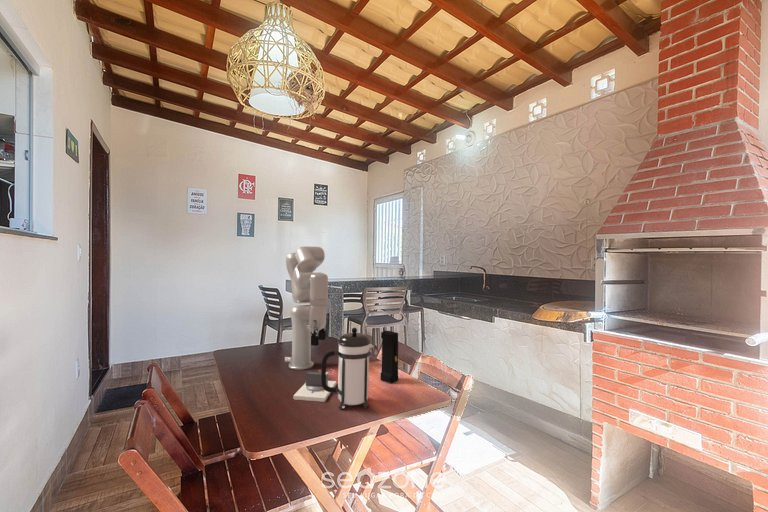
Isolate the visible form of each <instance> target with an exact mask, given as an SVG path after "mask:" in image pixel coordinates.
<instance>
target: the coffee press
mask: <svg viewBox="0 0 768 512" xmlns="http://www.w3.org/2000/svg"><path fill="white" fill-rule="evenodd" d="M337 344H338V349H337V350H331V351H327V352H326V353H325V354H324V355H323V357H322V360H321V383H322V387H323V388H324V390H326V391H328V392H331V393H337V398H338V401H339V402H340V405H339V406H338V408H339V410H342V411H343V410H344V409H345V407H346V406H347V405H348V406H357V405H362V406H363V408H364V409H367V408H369V407H370V405H369V402H368V400H369V399H368V398H369V380H370V379H369V378H370V377H369V376H370V375H369V374H370V373H369V372H370V355H371V354H370V353H371V351H370V348H374V345H373V344H372V342H371V339H370V338H369V336H368V335H367V334H365V333H362V332H358V328H357V327H352V328H351V330H350V332H346V333H344V334H342V335H340V337H339V339H338V340H337ZM333 356H338V371H337V372H338V373H337V374H338V376H337V377H338V379H337V384H338V385H337V386H335V387H329V386H327V384H326V372H327V361H328V359H329V358H330V357H333Z"/></svg>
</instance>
